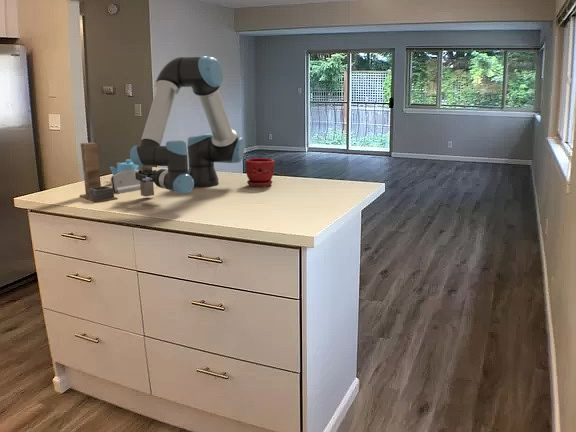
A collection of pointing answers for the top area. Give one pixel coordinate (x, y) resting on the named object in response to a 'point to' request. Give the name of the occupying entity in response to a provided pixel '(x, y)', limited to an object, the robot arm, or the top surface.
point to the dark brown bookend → (93, 175)
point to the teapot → (124, 167)
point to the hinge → (125, 182)
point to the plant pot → (259, 171)
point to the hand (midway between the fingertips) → (140, 172)
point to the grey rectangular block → (147, 187)
